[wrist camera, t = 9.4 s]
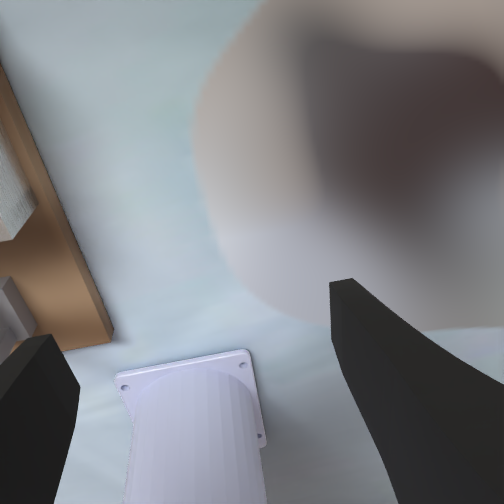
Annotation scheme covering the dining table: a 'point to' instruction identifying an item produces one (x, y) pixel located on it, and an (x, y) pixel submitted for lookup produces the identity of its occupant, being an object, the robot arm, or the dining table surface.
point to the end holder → (13, 190)
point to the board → (49, 252)
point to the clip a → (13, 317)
